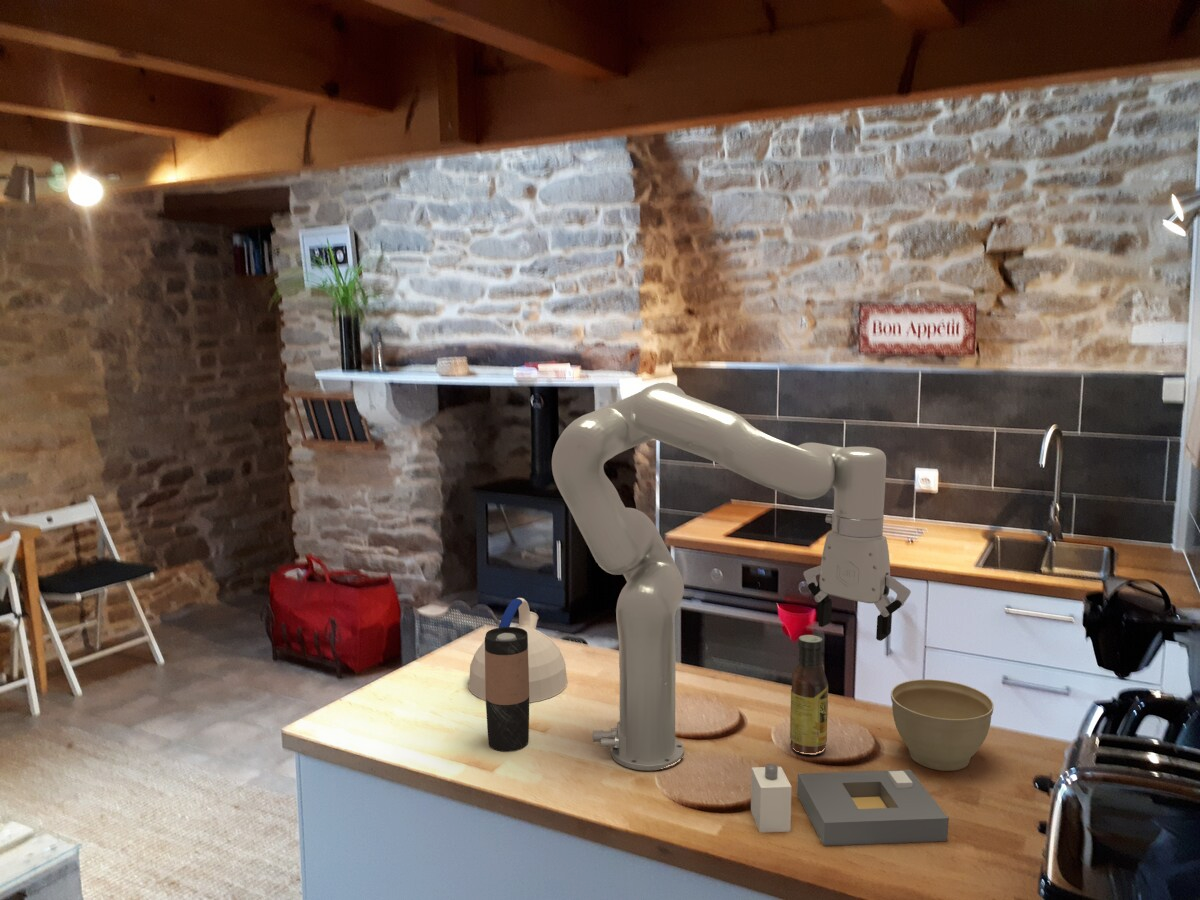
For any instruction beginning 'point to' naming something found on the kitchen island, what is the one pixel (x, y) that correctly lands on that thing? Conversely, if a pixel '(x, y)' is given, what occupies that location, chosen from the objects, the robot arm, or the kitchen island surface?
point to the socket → (871, 808)
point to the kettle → (542, 658)
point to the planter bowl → (941, 721)
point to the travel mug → (507, 688)
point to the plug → (771, 799)
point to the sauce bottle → (809, 698)
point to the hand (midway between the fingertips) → (852, 631)
